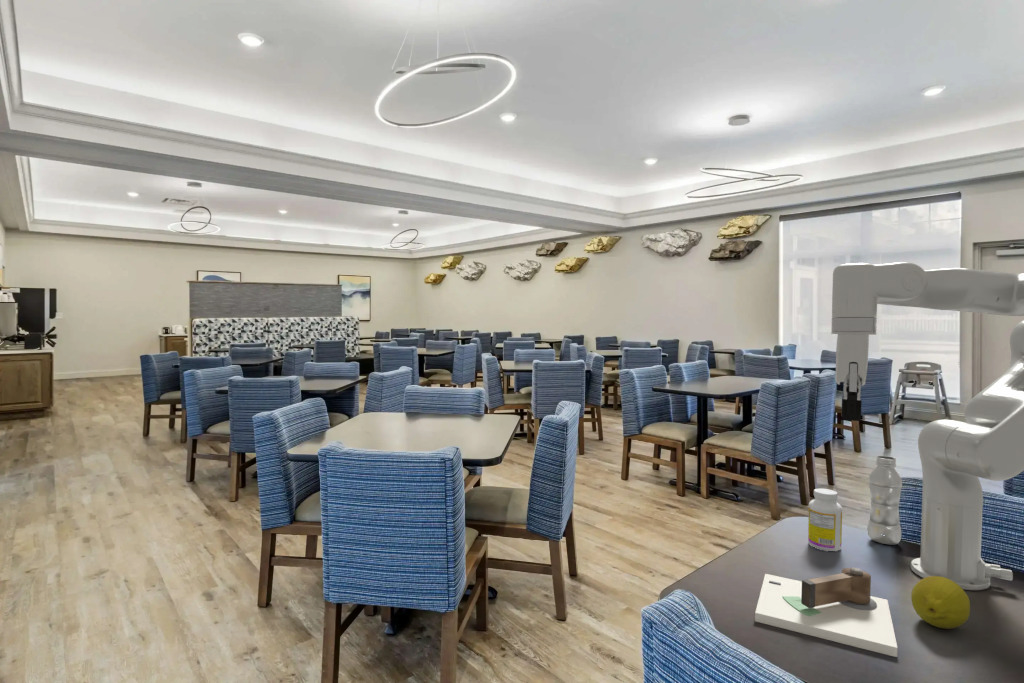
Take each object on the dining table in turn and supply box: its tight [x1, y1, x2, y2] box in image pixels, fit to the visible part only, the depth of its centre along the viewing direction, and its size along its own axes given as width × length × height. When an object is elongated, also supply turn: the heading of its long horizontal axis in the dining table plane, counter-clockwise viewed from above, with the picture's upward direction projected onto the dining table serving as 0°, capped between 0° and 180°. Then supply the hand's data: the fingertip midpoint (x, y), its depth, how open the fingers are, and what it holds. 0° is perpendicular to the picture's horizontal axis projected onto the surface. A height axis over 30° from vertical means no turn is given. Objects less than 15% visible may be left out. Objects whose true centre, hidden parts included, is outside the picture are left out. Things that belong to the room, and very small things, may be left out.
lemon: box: [910, 576, 971, 630], centre depth 93 cm, size 11×8×8 cm
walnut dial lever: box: [801, 567, 872, 608], centre depth 97 cm, size 14×4×5 cm, turn 109°
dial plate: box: [754, 573, 898, 658], centre depth 97 cm, size 20×17×2 cm
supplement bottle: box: [807, 488, 843, 552], centre depth 126 cm, size 7×7×13 cm
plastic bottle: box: [866, 455, 903, 545], centre depth 128 cm, size 6×7×20 cm
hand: (851, 419), depth 109 cm, fingers closed
